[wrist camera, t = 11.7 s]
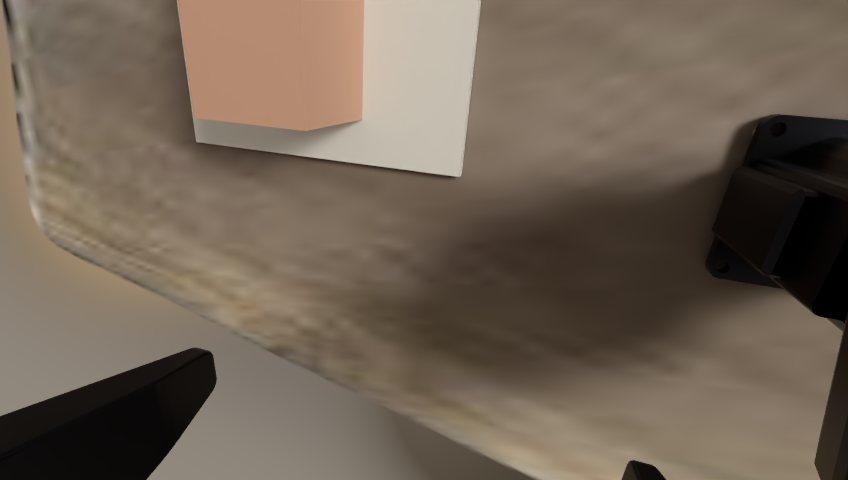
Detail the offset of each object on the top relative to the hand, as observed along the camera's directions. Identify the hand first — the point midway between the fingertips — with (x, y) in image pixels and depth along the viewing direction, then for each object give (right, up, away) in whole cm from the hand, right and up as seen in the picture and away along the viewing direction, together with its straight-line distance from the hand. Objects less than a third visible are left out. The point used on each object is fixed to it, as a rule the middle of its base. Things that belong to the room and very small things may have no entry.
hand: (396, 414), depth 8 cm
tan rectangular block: (-4, +13, +9) cm, 16 cm away
